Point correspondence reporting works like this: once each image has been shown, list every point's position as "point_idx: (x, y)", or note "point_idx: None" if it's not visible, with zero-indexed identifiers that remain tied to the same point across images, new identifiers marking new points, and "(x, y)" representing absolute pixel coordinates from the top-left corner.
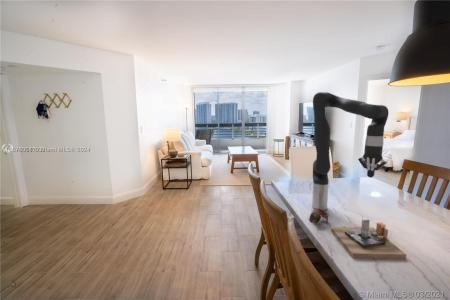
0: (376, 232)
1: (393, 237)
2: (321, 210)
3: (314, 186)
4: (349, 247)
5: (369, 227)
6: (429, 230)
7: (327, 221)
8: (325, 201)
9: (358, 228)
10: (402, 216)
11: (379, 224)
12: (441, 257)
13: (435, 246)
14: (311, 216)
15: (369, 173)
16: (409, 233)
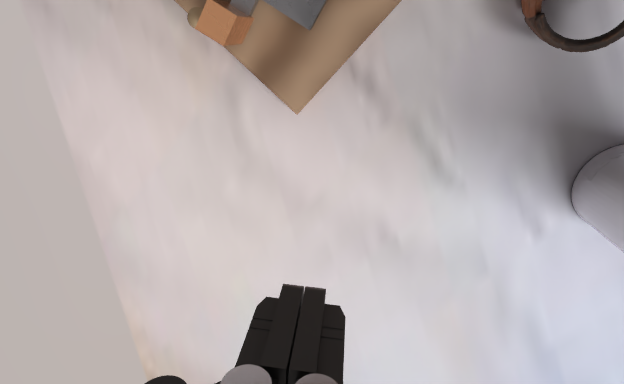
0: (246, 5)
1: (219, 114)
2: (605, 37)
3: None
4: None
5: (310, 97)
6: (156, 280)
7: (523, 1)
8: (614, 196)
9: (348, 39)
10: None
11: (219, 4)
12: (57, 80)
13: (99, 158)
14: None
15: (303, 325)
16: (191, 202)
